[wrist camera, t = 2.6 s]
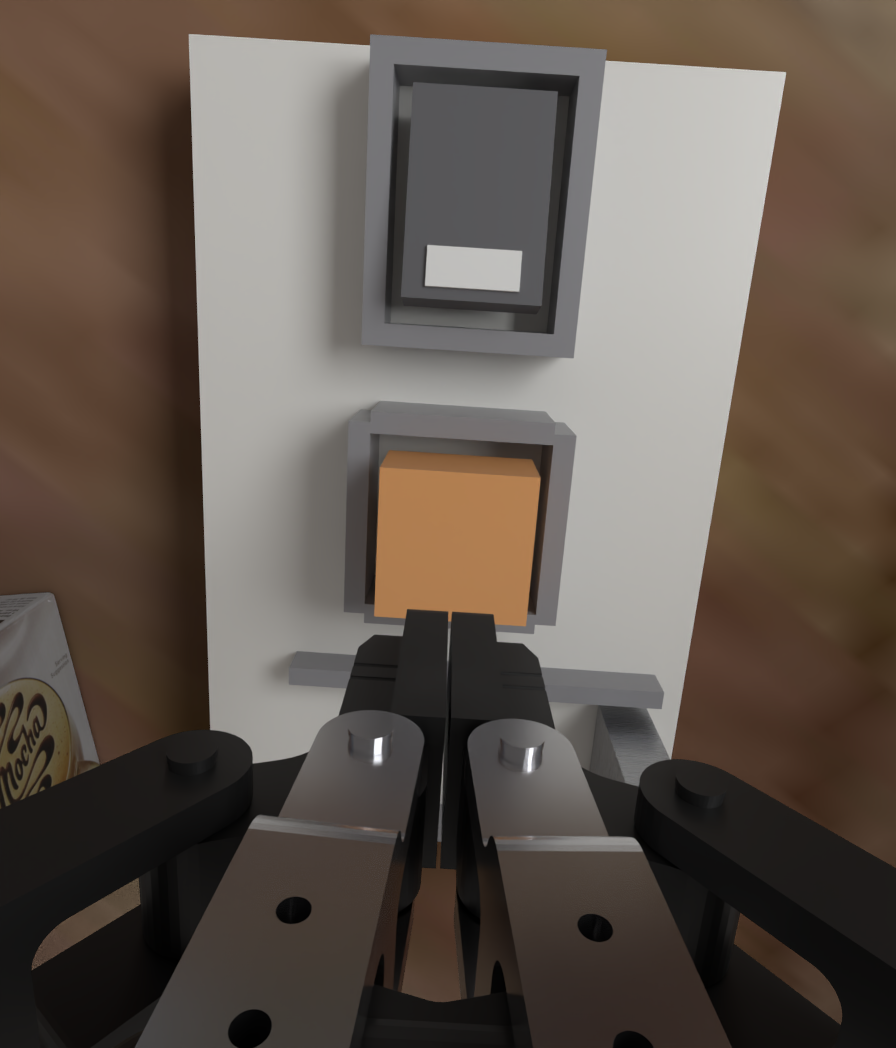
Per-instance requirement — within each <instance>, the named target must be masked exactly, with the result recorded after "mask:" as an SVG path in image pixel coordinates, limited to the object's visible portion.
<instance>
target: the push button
mask: <svg viewBox="0 0 896 1048" xmlns="http://www.w3.org/2000/svg"><path fill="white" fill-rule="evenodd" d="M540 480H541V477H540V475H539V473H538V471H537V469H536V467H535V465H534V462H533V460H532V459H518V458H503V457H488V456H473V455H457V454H442V453H427V452H411V451H396V450H389V451H388V453H387V455H386V457H385V459H384V460H383V462H382V464H381V466H380V474H379V501H378V528H377V555H376V581H375V608H374V616H375V617H390V618H405V619H406V613H407V609H418V610H434V611H448V621H451V617H452V612H468V613H485V614H493V615H494V622H495V624H496V625H512V626H526V621H527V611H528V601H529V591H530V581H531V571H532V561H533V551H534V541H535V531H536V521H537V511H538V501H539V490H540Z"/></svg>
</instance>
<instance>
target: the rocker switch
mask: <svg viewBox="0 0 896 1048" xmlns="http://www.w3.org/2000/svg"><path fill="white" fill-rule="evenodd" d="M557 97H558V91H543V90H527V89H512V88H496V87H481V86H465V85H450V84H434V83H418V82H413V94H412V111H411V129H410V147H409V164H408V182H407V199H406V217H405V235H404V252H403V270H402V288H401V298H402V301H403V304H404V306H414V307H430V308H445V309H461V310H476V311H491V312H507V313H522V314H537V313H538V311H539V309H540V308H541V306H542V294H543V280H544V267H545V254H546V241H547V228H548V215H549V202H550V189H551V176H552V163H553V150H554V137H555V124H556V110H557Z"/></svg>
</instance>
